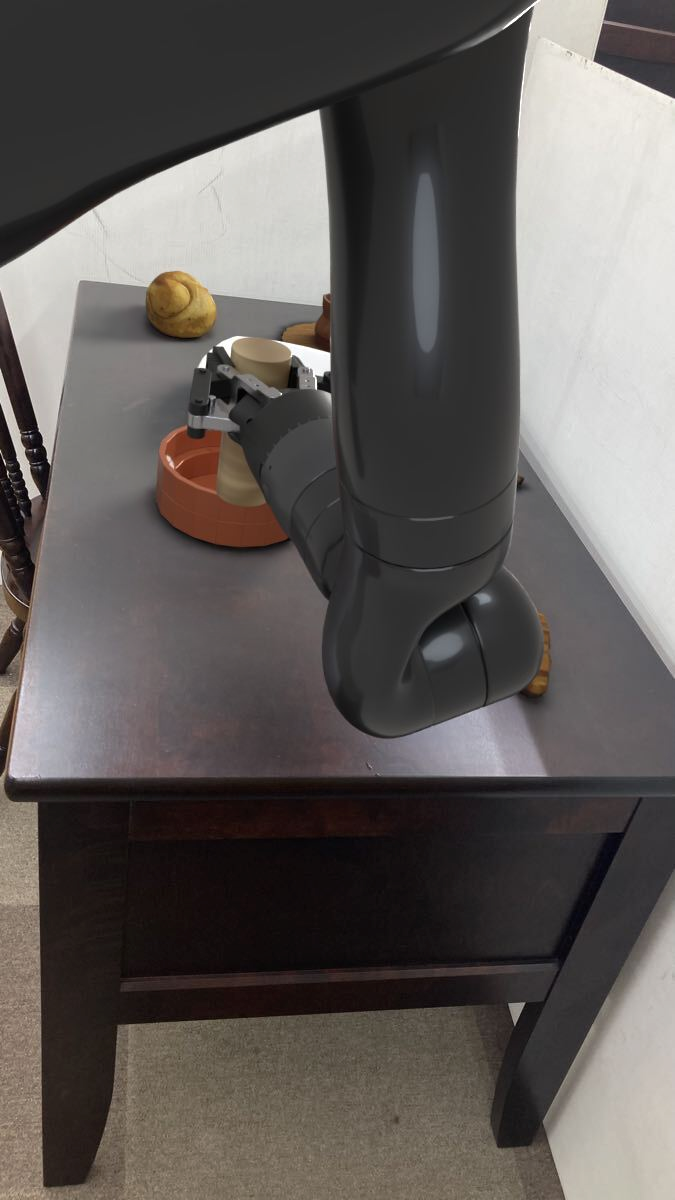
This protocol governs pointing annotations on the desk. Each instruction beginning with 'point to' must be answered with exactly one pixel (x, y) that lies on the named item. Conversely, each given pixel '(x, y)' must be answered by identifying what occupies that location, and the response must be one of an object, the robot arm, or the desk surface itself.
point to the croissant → (542, 677)
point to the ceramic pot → (312, 331)
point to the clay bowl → (207, 495)
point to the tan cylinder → (248, 357)
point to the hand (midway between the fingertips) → (248, 359)
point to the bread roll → (180, 305)
